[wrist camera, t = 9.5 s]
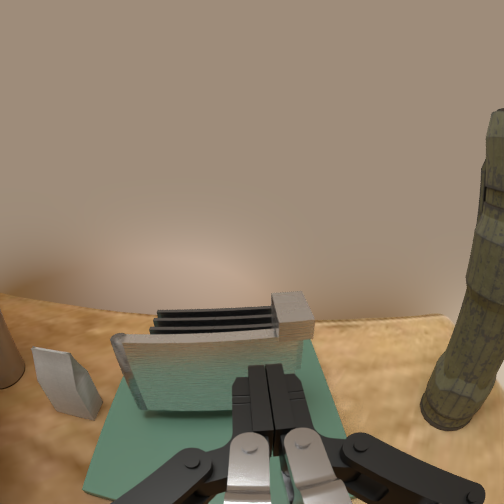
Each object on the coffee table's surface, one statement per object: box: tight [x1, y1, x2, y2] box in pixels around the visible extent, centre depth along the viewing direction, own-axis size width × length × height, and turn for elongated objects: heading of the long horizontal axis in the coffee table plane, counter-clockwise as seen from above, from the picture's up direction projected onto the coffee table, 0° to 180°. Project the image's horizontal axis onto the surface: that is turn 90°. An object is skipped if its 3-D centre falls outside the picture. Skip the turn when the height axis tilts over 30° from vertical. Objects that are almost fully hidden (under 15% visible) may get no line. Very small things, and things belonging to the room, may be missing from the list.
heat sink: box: [82, 291, 356, 504], centre depth 27 cm, size 28×28×16 cm
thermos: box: [420, 108, 504, 431], centre depth 19 cm, size 9×12×35 cm
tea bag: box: [31, 346, 103, 421], centre depth 26 cm, size 4×7×10 cm, turn 92°
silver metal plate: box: [110, 328, 298, 411], centre depth 26 cm, size 18×2×10 cm, turn 95°
